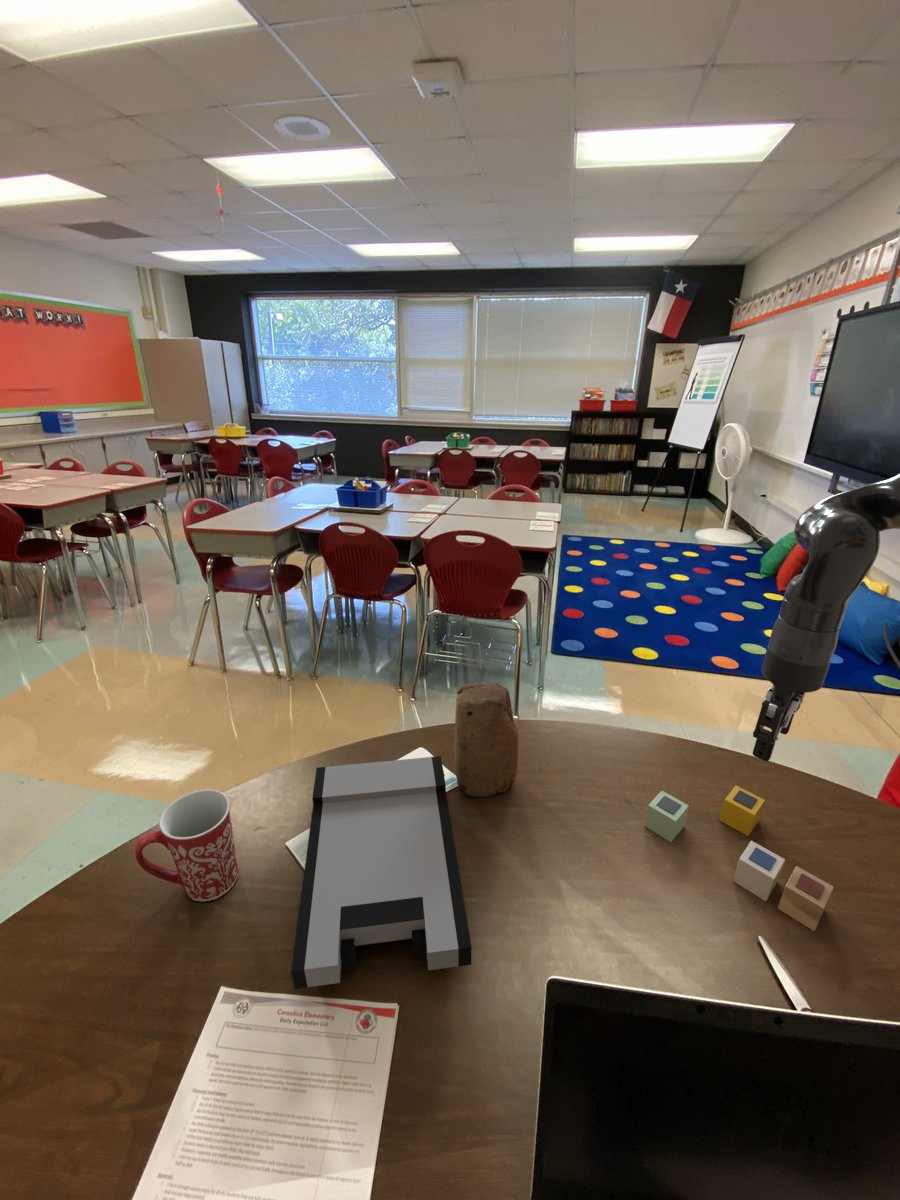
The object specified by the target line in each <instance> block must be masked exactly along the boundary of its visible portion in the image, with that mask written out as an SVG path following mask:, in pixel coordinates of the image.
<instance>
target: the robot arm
mask: <svg viewBox="0 0 900 1200" xmlns="http://www.w3.org/2000/svg"><path fill="white" fill-rule="evenodd" d="M793 529H794V530H793V531H794V538H795V540H796V542H797V544H798V545H799V546H800V547H801V548H802V549H803V550H804V551H805V552H807V553H808V554H809V556H808V557H809V558H808V561H807V564H806V567H805V569H804V571H803V572H802V573H800V574H797V575H795V576H793V577H792V578H791V579H790V581H789V582H788V584H787V585H786V588H785V591H784V595H783V598H782V603H781V606H780V608H779V613H778V616H777V618H776V620H775V623H774V625H773V627H772V630H771V633H770V636H769V641H768V643H767V647H766V651H765V655H764V659H763V662H762V666H761V673H762V676H763V677H764V679H766V680H767V681H769V682H770V683H771V684H772V688H771V687H769V688H768V690H767V692H766V695H765V699H764V701H762V702H761V708H760V711H759V715H758V718H757V721H756V724H755V727H754V730H753V732H752V738H755V743H754V746H753V750H752V755H753V756H754V757H755V758H756V759H759V760H762V761H764V762H769V761H770V760H771V758H772V756H773V755H772V754H773V752H774V748H775V746H776V742H777V741H778V740H779V735H780V734H782V735H788V733H789V732H790V729H791V726H792V723H793V719H794V717H795V714H796V713H797V712H798V711H799V710H800V708H801V706H802V704H803V703H804V698H805V696H806V694H807V693H813V692H817V691H819V690H821V689H822V687H823V686H824V684H825V680H826V678H827V675H828V671H829V669H830V666H831V663H832V660H833V658H834V655H835V651H836V648H837V645H838V640H839V633H840V630H841V626H842V624H843V620H844V617H845V615H846V612H847V609H848V606H849V605H848V604H849V601H850V600H851V597H852V596H853V595H854V594H855V592H856V591H857V590H858V588H859V587H860V586H861V584H862V582H863V581H864V580H865V578H866V576H867V575H868V573H869V572H870V570H871V569H872V567H873V566H874V563H875V562H876V560H877V557H878V555H879V551H880V546H881V532H884V531H888V530H893V529H894V530H900V472H899V473H897V474H896V475H894V476H892V477H889V478H887V479H883V480H880V481H876V482H872V483H869V484H865V485H862V486H859V487H856V488H853V489H852V488H851V489H849V490H846V491H844V492H840V493H837V494H835V495H834V494H833V495H831V496H829V497H827V498H824V499H822V500H820V501H818V502H816V503H814V504H813V505H811V506H810V507H808V508H807V509H806V510H804V512H803V513H802V514H801V515H800V516H799V517H798V519H797V520H796V523H795V525H794V528H793ZM883 638H884V641H885V645H886V647H887V650H888V652H889V654H890V656H891V658H892V660H893V661H894V662H895V664H896V666H897V667H898V668H899V669H900V659H899V658H898V657H897V655H896V653H895V651H894V650H893V647H892V644H891V642H890V639H889V635H888V622H883ZM766 728H768V729H770V730H771V731H770V730H768V729H766Z"/></svg>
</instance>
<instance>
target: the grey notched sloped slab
mask: <svg viewBox="0 0 900 1200" xmlns="http://www.w3.org/2000/svg"><path fill="white" fill-rule="evenodd" d="M446 785H447V784H446V779H445V774H444V767H443V761H442V756H441V755H437V756H426V757H415V758H404V759H394V760H383V761H374V762H362V763H350V764H342V765H331V766H320V767H319V766H318V767H315V776H314V783H313V792H312V796H311V797H312V811H311V819H310V825H309V833H308V841H307V848H306V856H305V862H304V870H303V878H302V884H301V893H300V900H299V908H298V915H297V924H296V931H295V937H294V945H293V953H292V960H291V968H290V973H291V979H292V983H293V987H294V990H297V989H298V990H299V989H305V988H311V987H319V986H328V985H333V984H334V985H335V984H340V983H341V975H342V973H341V972H344V971H351V970H356V967H357V965H356V964H357V958H356V955H357V956H358V949H357V946H358V947H359V946H366V945H372V944H379V943H381V944H382V943H387V942H396V941H402V940H403V941H404V940H411V943H412V944H411V945H412V958H413V959H412V960H413V962H417V961H418V962H419V961H425V960H427V961H426V962H427V971H435V970H441V969H442V970H443V969H450V968H457V967H458V968H459V967H465V966H471V965H472V949H473V948H472V942H471V935H470V928H469V924H468V923H469V922H468V917H467V911H466V904H465V899H464V893H463V886H462V881H461V875H460V868H459V863H458V857H457V851H456V845H455V844H456V843H455V838H454V833H453V826H452V821H451V814H450V808H449V802H448V801H449V800H448V797H447V789H446V788H447V786H446Z"/></svg>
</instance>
